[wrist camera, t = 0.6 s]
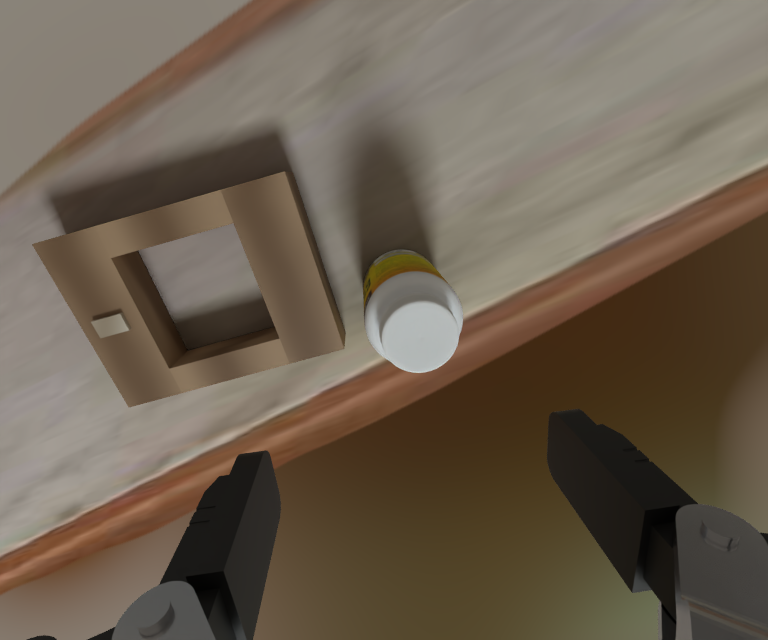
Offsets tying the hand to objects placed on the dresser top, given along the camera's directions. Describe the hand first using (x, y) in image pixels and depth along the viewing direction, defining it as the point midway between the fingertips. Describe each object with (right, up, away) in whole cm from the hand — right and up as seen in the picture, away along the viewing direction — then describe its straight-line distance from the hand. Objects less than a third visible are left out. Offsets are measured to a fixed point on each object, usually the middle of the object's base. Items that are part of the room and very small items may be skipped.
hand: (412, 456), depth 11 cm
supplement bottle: (0, +7, +18) cm, 19 cm away
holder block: (-13, +6, +17) cm, 22 cm away
